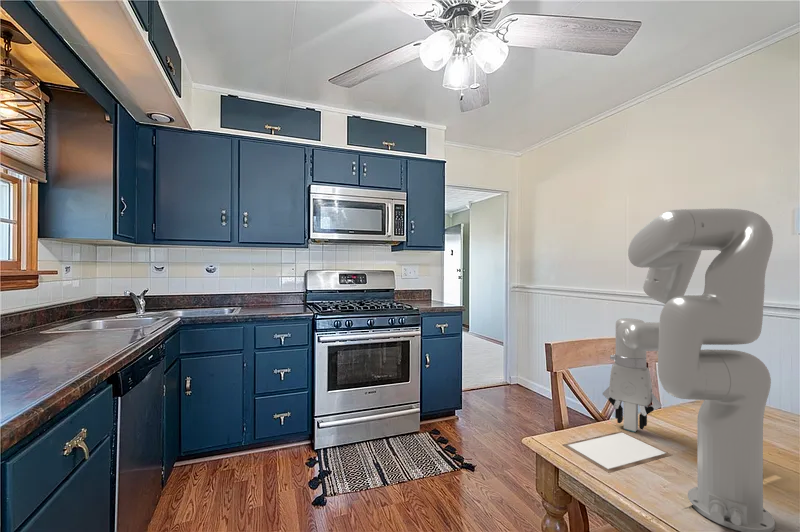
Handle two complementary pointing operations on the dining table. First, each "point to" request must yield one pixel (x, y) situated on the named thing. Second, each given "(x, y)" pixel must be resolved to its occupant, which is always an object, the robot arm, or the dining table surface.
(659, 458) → the board
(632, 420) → the grey square bar
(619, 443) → the paper
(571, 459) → the dining table surface
